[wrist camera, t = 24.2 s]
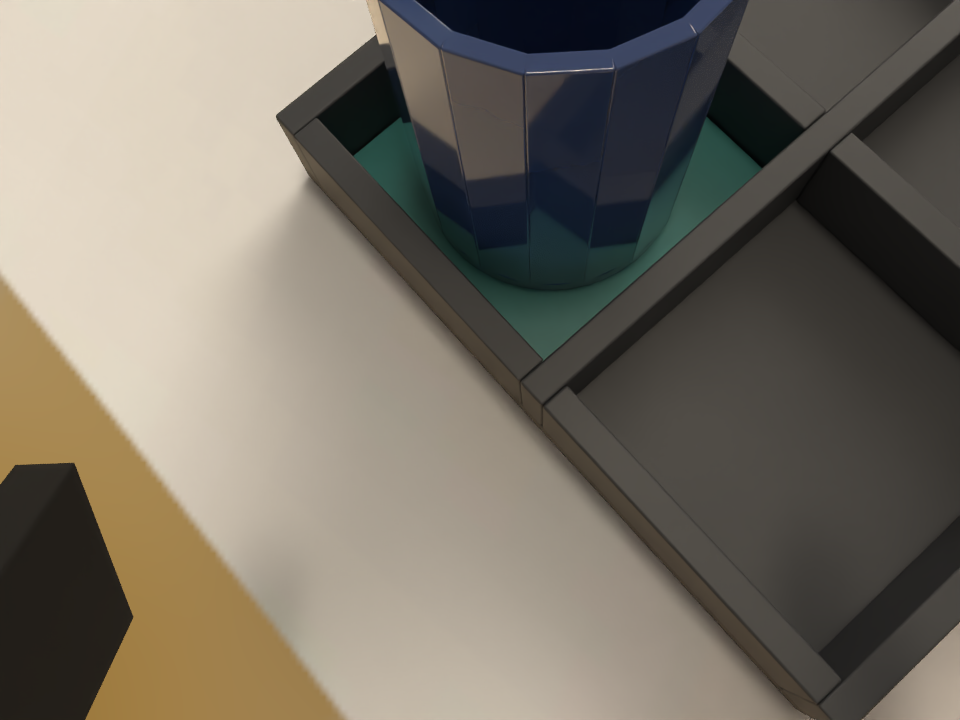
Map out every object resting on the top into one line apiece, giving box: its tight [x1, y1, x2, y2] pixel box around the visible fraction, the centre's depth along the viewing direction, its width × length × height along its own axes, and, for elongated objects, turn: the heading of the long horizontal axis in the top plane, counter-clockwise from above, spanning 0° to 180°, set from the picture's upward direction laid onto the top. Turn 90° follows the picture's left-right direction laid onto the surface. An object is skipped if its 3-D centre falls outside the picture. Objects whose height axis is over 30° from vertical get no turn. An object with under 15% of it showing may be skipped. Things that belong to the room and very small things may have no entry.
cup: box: [366, 0, 749, 291], centre depth 20 cm, size 7×7×11 cm
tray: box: [276, 0, 960, 720], centre depth 24 cm, size 20×20×4 cm
